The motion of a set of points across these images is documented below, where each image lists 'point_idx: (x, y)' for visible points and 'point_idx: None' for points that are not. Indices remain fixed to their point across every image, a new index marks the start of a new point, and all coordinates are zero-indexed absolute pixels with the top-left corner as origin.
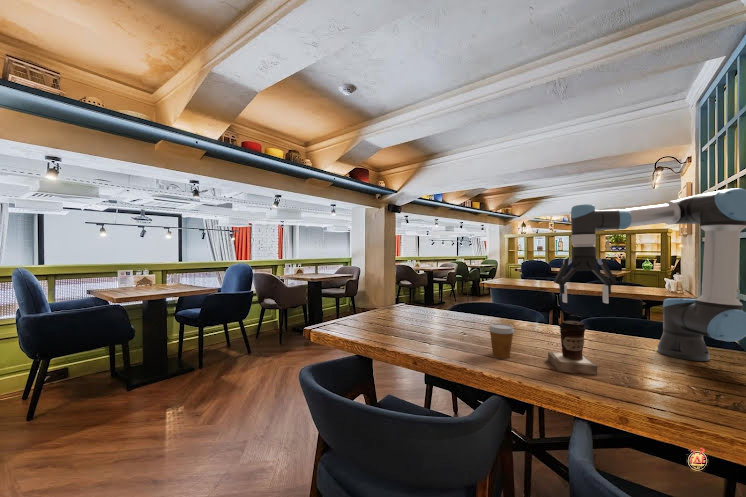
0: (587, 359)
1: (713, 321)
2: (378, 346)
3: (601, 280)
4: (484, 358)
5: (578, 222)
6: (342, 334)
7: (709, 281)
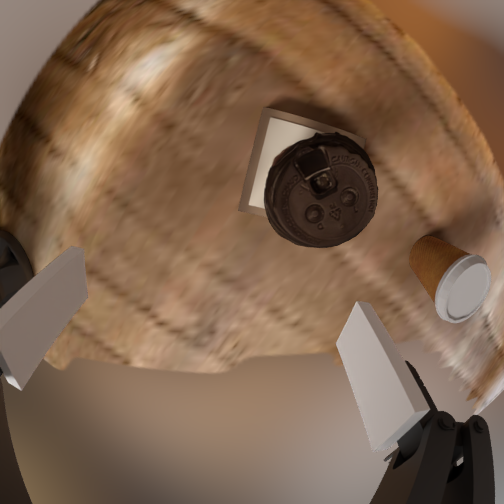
0: (255, 162)
1: None
2: None
3: (6, 423)
4: (461, 237)
5: None
6: None
7: None
